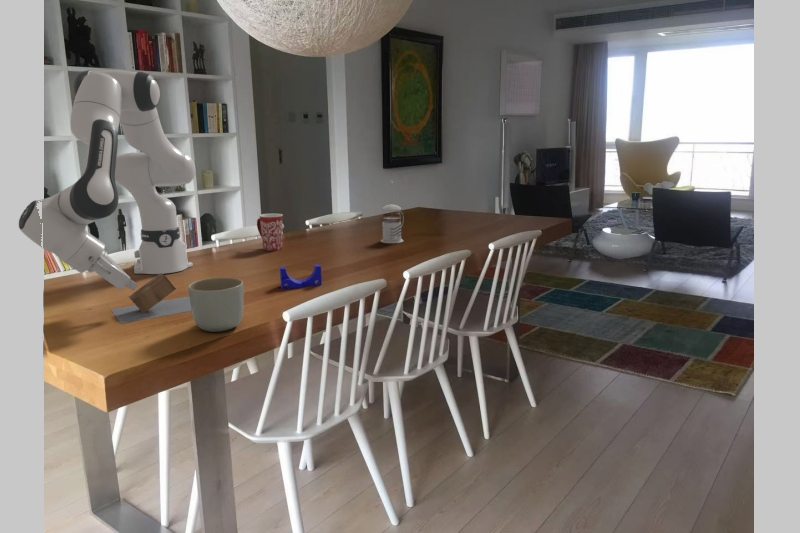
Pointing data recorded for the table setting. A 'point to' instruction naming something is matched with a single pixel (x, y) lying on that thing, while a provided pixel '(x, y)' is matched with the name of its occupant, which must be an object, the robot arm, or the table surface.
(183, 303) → the mat
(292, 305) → the table surface
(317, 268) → the blue cradle bracket
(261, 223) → the mug
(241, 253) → the table surface
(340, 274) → the table surface
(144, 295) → the walnut block
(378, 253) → the table surface
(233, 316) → the planter
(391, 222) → the french press
